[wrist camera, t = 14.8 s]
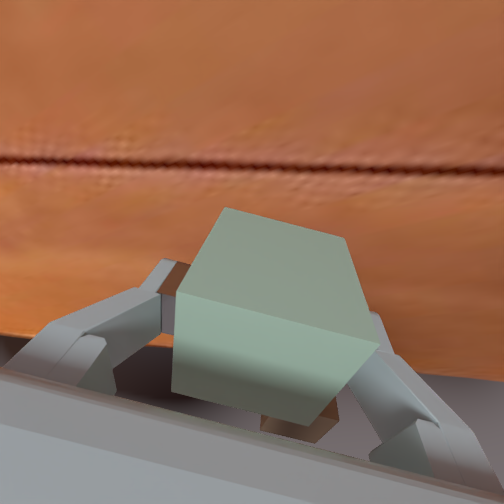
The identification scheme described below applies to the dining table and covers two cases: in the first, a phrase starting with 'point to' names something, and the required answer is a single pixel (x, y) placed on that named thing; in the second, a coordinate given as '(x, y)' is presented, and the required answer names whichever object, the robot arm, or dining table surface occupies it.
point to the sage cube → (270, 319)
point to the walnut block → (300, 431)
